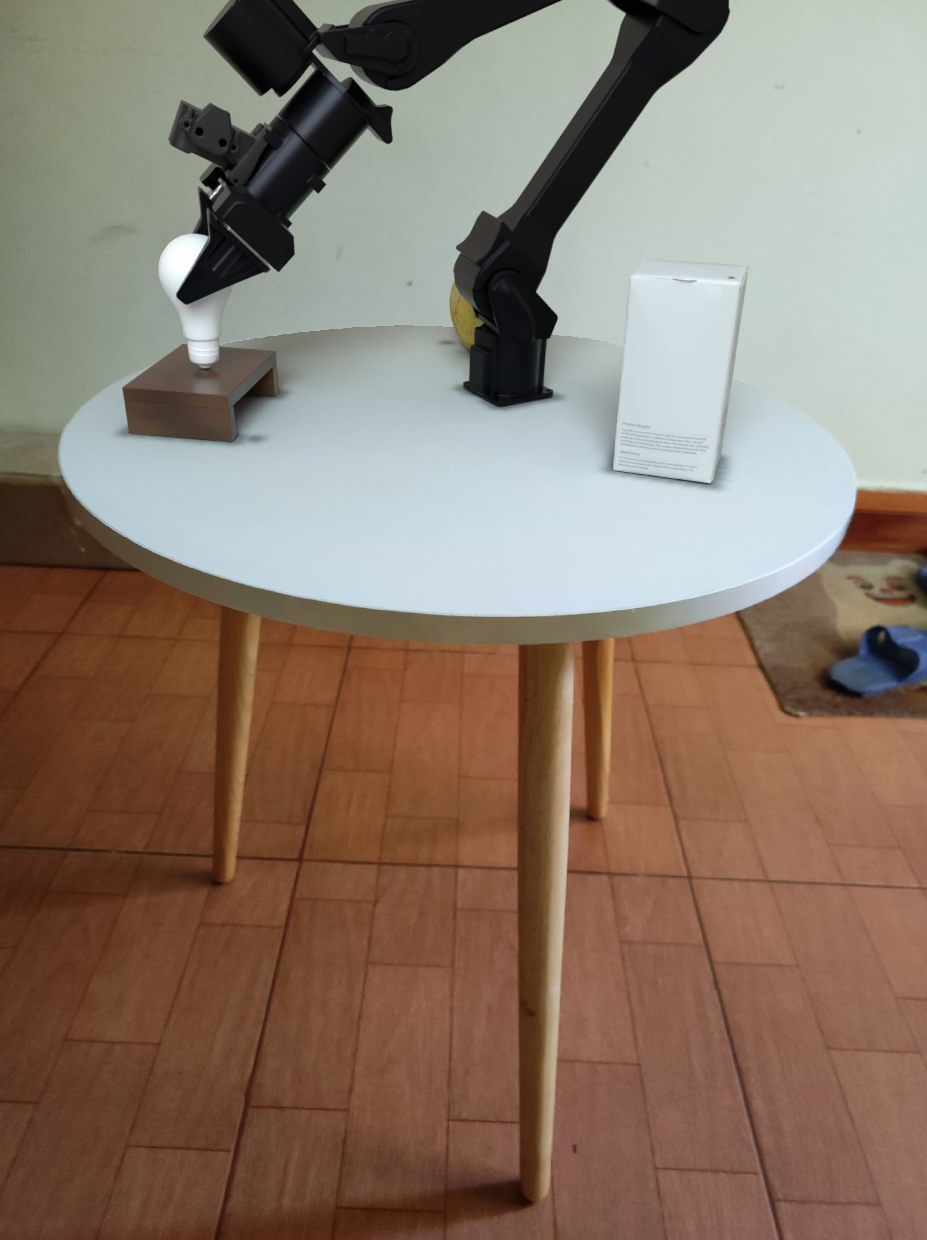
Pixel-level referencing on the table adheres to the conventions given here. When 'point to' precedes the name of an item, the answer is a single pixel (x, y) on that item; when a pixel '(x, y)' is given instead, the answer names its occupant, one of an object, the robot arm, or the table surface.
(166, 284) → the lightbulb
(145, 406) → the shelf
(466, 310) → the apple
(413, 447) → the table surface
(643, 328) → the cosmetic box
